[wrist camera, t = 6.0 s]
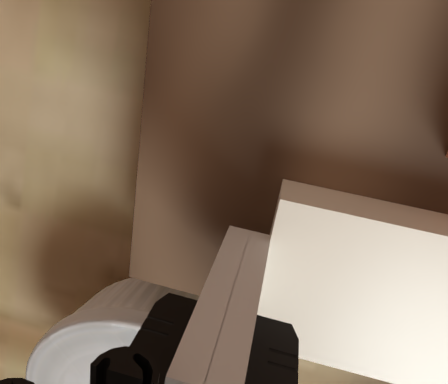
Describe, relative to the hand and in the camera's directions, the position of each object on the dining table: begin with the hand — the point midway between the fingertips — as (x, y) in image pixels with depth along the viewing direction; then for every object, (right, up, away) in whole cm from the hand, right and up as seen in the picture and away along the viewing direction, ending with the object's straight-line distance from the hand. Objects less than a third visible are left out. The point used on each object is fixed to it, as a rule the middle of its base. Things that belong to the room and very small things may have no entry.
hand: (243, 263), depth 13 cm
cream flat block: (+5, -1, +1) cm, 5 cm away
